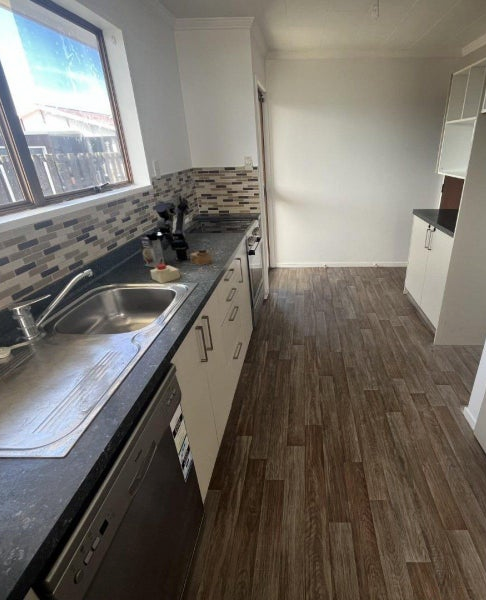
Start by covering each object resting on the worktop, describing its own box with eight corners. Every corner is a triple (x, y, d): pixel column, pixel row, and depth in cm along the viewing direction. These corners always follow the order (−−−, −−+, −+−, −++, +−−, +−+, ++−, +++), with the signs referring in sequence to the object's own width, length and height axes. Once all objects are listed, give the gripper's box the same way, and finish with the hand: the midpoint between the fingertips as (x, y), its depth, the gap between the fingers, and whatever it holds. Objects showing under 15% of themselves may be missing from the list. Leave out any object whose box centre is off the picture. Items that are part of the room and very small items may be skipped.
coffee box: (144, 266, 185) (138, 238, 178) (153, 262, 191) (147, 235, 184) (156, 268, 182) (150, 239, 175) (165, 264, 187) (159, 236, 181)
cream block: (151, 279, 167) (148, 267, 164) (170, 273, 174) (168, 261, 171) (161, 284, 161) (158, 271, 158) (180, 278, 168) (178, 266, 165)
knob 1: (156, 269, 163) (155, 265, 162) (163, 267, 165) (163, 263, 164) (160, 271, 160) (159, 267, 159) (167, 268, 163) (167, 264, 162)
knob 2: (197, 252, 185) (197, 249, 185) (203, 250, 188) (203, 248, 187) (201, 253, 183) (201, 250, 182) (207, 252, 186) (207, 249, 185)
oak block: (191, 262, 190) (189, 250, 187) (203, 259, 196) (201, 247, 193) (201, 266, 184) (199, 254, 181) (213, 263, 189) (212, 251, 186)
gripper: (142, 215, 165) (139, 242, 159) (180, 214, 166) (178, 241, 160) (151, 227, 175) (148, 253, 170) (187, 226, 176) (185, 252, 171)
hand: (164, 249), depth 167 cm, fingers closed
